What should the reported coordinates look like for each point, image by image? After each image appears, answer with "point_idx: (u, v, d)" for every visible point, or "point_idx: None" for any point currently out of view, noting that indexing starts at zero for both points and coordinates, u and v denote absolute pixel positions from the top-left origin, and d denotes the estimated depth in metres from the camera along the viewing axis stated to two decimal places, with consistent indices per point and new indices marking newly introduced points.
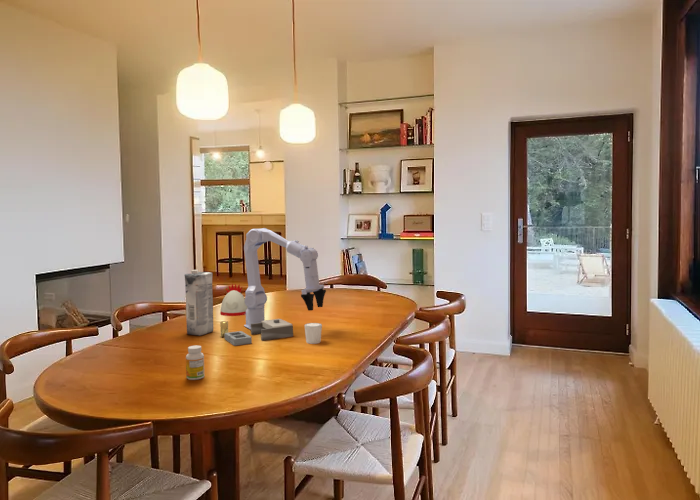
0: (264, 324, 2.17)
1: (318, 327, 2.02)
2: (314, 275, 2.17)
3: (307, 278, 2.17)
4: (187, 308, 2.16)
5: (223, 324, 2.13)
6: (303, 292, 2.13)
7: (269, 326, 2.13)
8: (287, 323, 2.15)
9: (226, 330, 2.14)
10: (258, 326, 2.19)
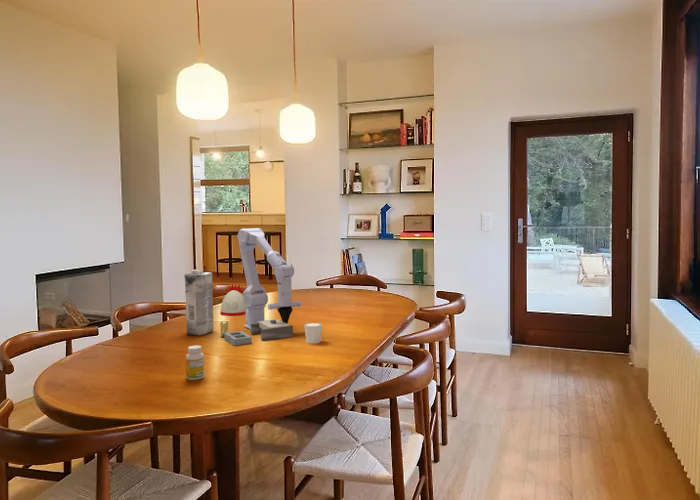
0: (261, 324, 2.16)
1: (318, 327, 2.02)
2: (285, 292, 2.15)
3: (278, 293, 2.17)
4: (187, 308, 2.16)
5: (223, 324, 2.13)
6: (268, 307, 2.15)
7: (266, 326, 2.12)
8: (284, 323, 2.14)
9: (226, 330, 2.14)
10: (258, 326, 2.19)
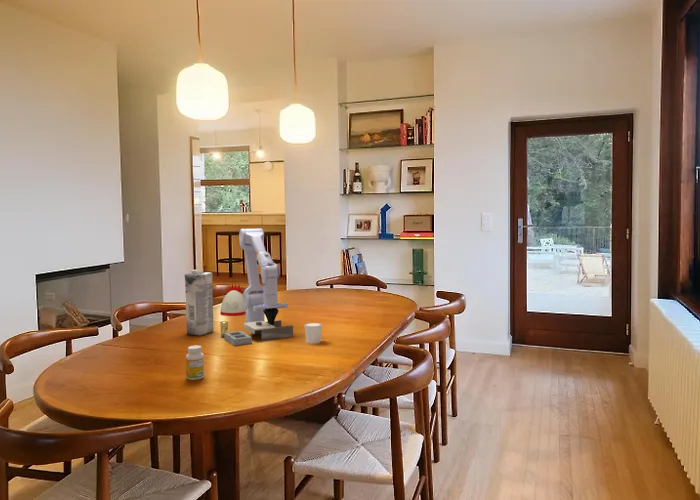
0: (246, 326, 2.13)
1: (318, 327, 2.02)
2: (268, 293, 2.12)
3: (263, 295, 2.14)
4: (187, 308, 2.16)
5: (223, 324, 2.13)
6: (253, 309, 2.12)
7: (251, 328, 2.08)
8: (269, 325, 2.11)
9: (226, 330, 2.14)
10: None
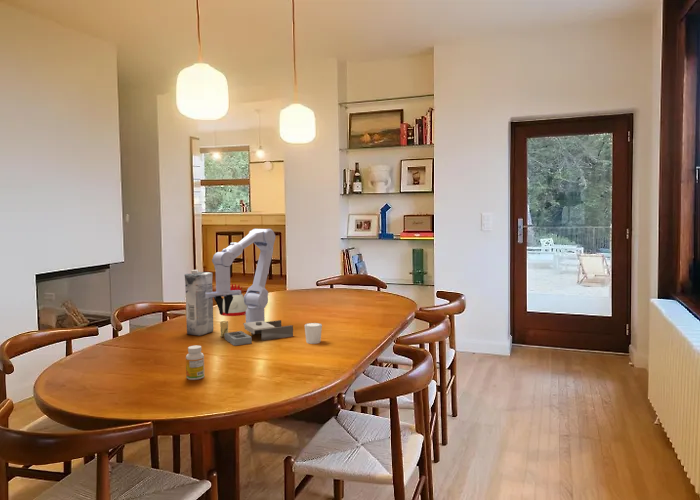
0: (246, 326, 2.13)
1: (318, 327, 2.02)
2: (216, 279, 2.12)
3: (216, 282, 2.12)
4: (187, 308, 2.16)
5: (223, 324, 2.13)
6: (205, 295, 2.10)
7: (251, 328, 2.08)
8: (269, 325, 2.11)
9: (226, 330, 2.14)
10: None
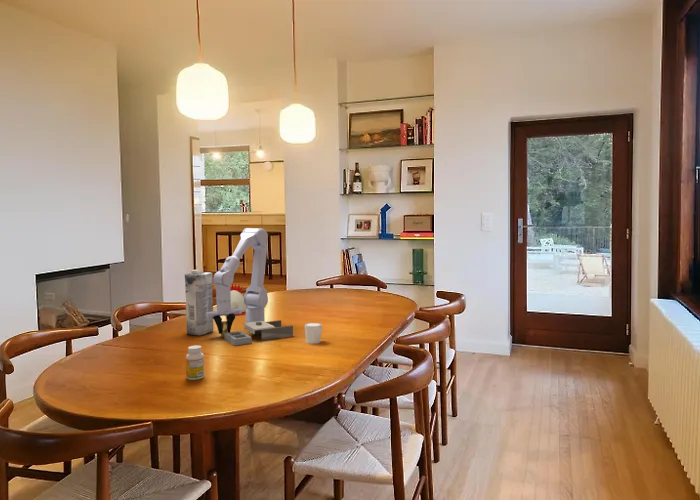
0: (246, 326, 2.13)
1: (318, 327, 2.02)
2: (216, 299, 2.13)
3: (216, 301, 2.13)
4: (187, 308, 2.16)
5: (223, 324, 2.13)
6: (206, 315, 2.11)
7: (251, 328, 2.08)
8: (269, 325, 2.11)
9: (226, 330, 2.14)
10: None
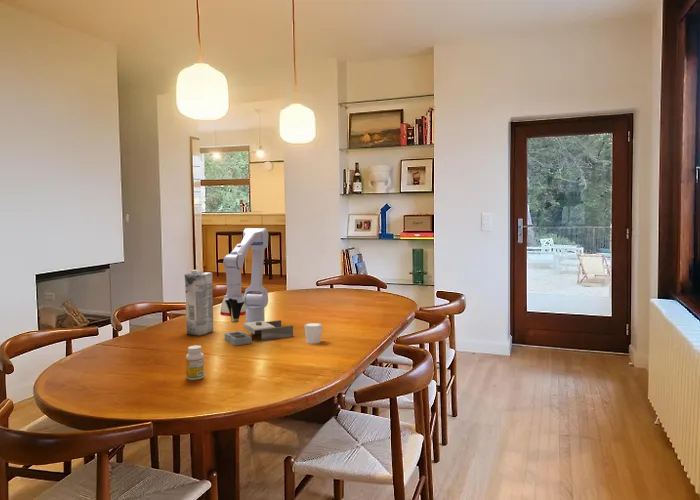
0: (246, 326, 2.13)
1: (318, 327, 2.02)
2: (227, 283, 2.05)
3: None
4: (187, 308, 2.16)
5: (231, 309, 2.08)
6: None
7: (251, 328, 2.08)
8: (269, 325, 2.11)
9: (232, 316, 2.07)
10: None
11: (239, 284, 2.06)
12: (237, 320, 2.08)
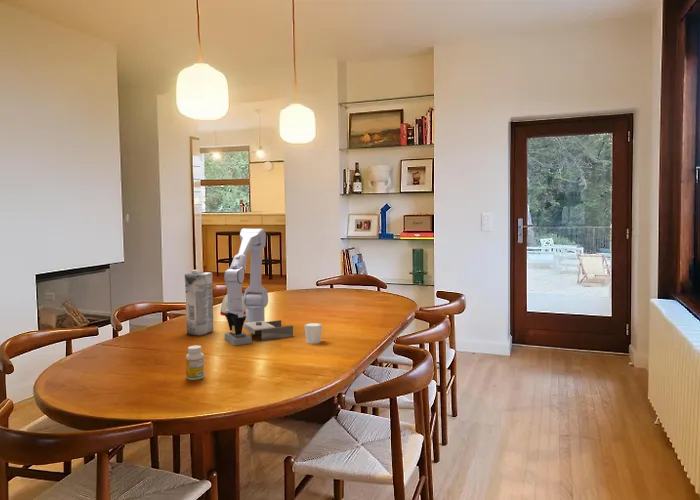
0: (246, 326, 2.13)
1: (318, 327, 2.02)
2: (228, 297, 2.06)
3: None
4: (187, 308, 2.16)
5: (232, 327, 2.08)
6: None
7: (251, 328, 2.08)
8: (269, 325, 2.11)
9: (233, 334, 2.08)
10: None
11: (240, 298, 2.06)
12: None
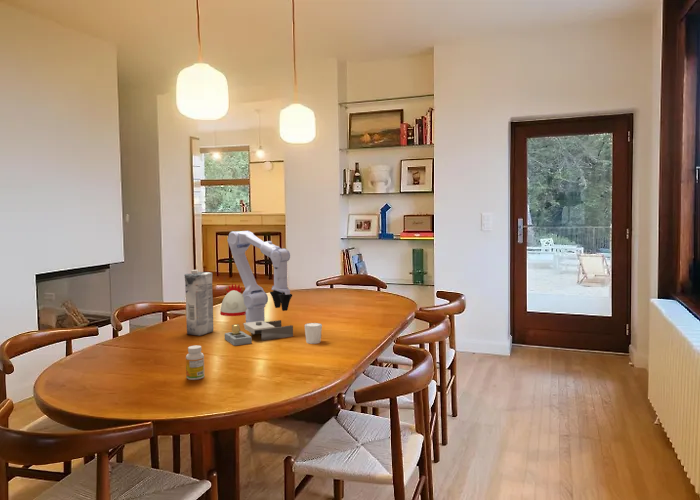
0: (246, 326, 2.13)
1: (318, 327, 2.02)
2: (281, 276, 2.17)
3: None
4: (187, 308, 2.16)
5: (232, 327, 2.08)
6: None
7: (251, 328, 2.08)
8: (269, 325, 2.11)
9: (233, 334, 2.08)
10: None
11: (286, 277, 2.19)
12: None
